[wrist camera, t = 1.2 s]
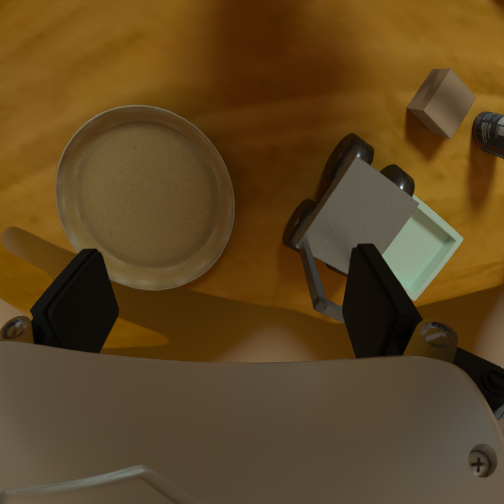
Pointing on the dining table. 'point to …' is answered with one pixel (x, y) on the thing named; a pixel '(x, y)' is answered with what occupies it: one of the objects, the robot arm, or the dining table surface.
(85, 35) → the dining table surface
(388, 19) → the dining table surface
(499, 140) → the supplement bottle
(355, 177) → the trolley
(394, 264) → the tray
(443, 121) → the block
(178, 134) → the plant saucer
